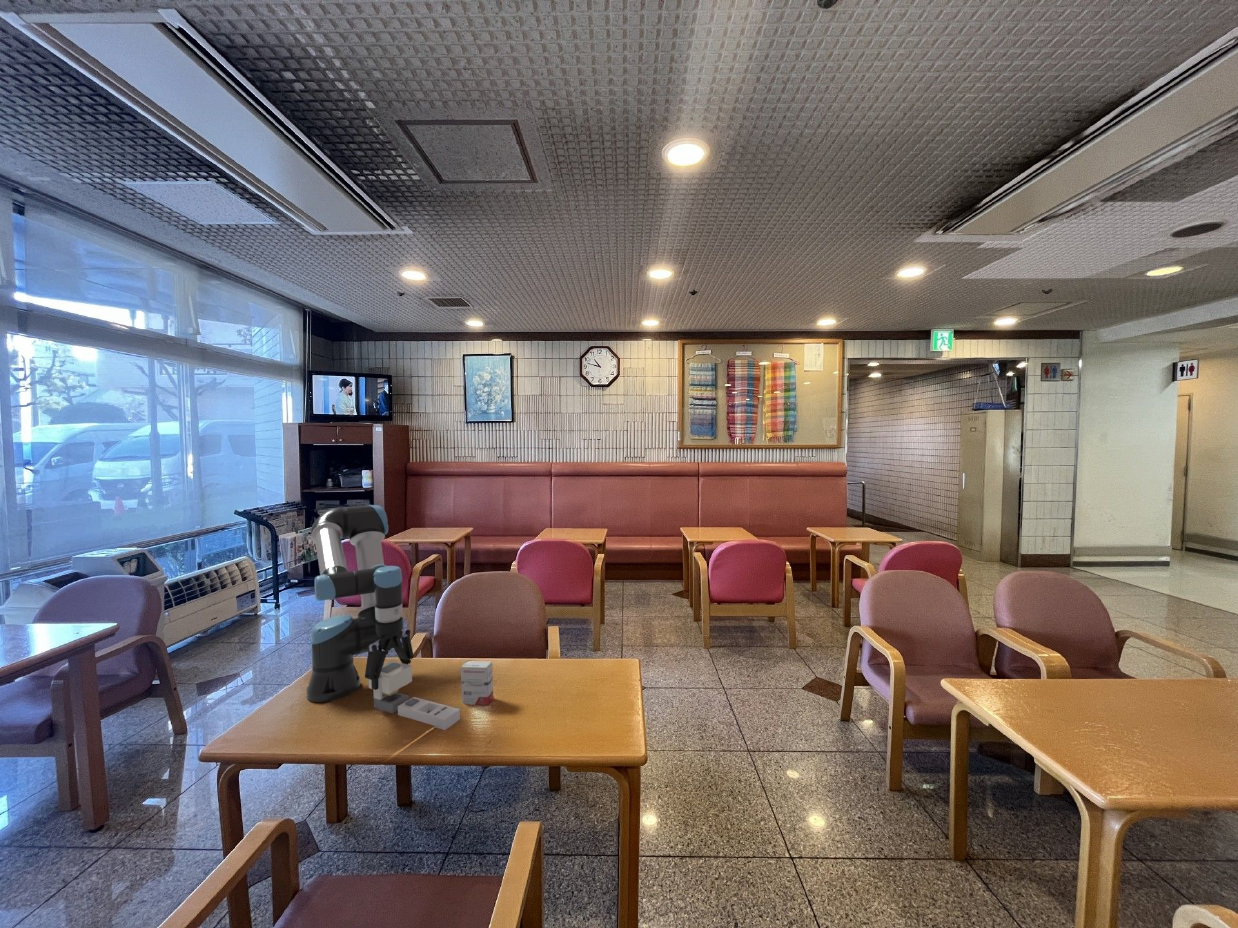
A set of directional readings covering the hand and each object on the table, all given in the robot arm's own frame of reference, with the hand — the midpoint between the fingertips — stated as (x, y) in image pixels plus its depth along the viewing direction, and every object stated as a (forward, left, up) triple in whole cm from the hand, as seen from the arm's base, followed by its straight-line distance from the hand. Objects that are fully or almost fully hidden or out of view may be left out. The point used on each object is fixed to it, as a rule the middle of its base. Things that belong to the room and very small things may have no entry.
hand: (390, 690), depth 151 cm
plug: (0, 0, 0) cm, 0 cm away
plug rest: (+1, 0, -5) cm, 5 cm away
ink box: (+22, +13, -5) cm, 26 cm away
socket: (+16, 0, -5) cm, 16 cm away
